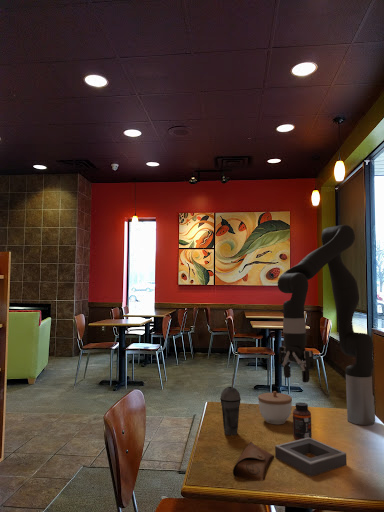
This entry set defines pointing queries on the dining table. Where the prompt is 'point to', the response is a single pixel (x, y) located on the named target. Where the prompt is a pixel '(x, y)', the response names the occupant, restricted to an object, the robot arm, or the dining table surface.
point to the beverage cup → (230, 409)
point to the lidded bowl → (275, 407)
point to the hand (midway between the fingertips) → (296, 379)
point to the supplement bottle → (301, 421)
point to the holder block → (321, 463)
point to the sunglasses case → (252, 463)
